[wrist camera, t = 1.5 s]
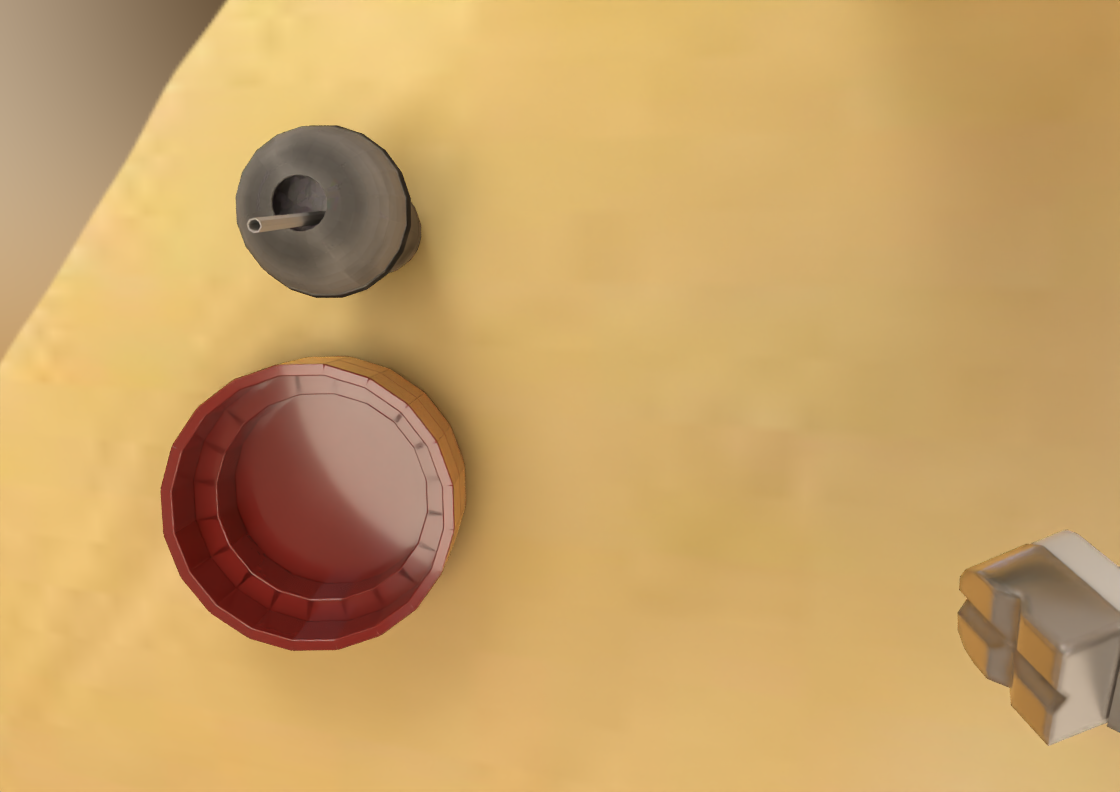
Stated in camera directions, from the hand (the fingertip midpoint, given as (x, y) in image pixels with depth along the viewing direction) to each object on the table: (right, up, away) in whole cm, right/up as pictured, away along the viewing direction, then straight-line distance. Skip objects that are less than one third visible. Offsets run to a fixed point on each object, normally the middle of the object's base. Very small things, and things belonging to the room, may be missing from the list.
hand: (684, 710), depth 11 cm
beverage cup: (-12, +13, +38) cm, 42 cm away
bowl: (-14, -1, +39) cm, 42 cm away
